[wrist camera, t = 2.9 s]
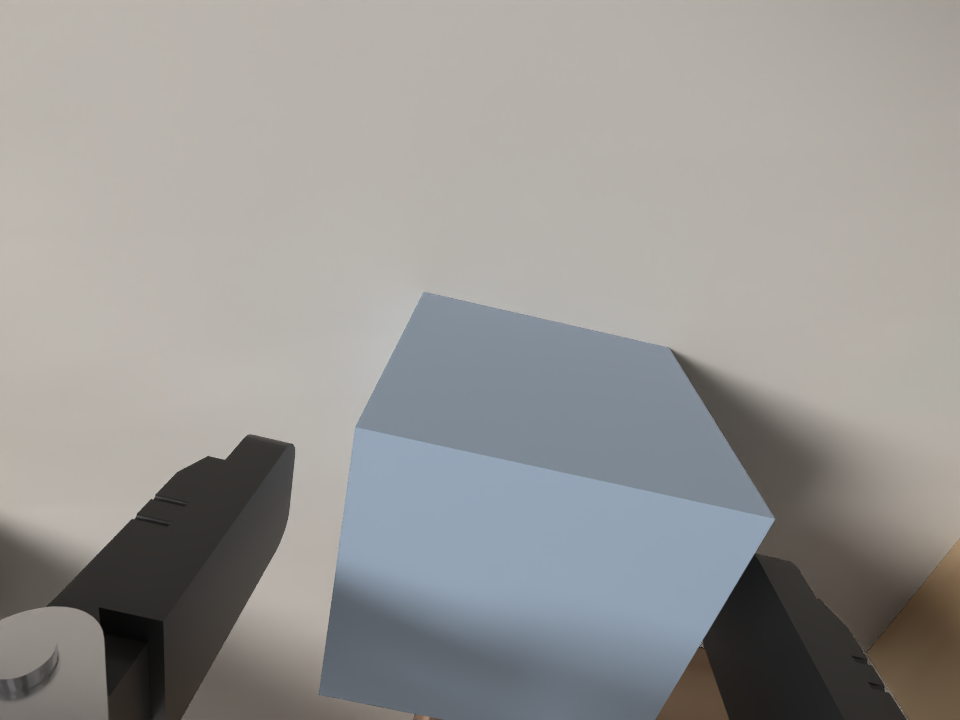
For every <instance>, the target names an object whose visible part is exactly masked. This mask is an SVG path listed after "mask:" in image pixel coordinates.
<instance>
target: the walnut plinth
mask: <svg viewBox="0 0 960 720" xmlns="http://www.w3.org/2000/svg"><path fill="white" fill-rule="evenodd" d="M414 720H443V719H438V718H433V717H428V716H423V715H418V714H415V716H414ZM655 720H729V718H728V715H727V712H726V709H725V706H724V703H723V700H722V697H721V694H720V692H719V689H718V686H717V683H716V680H715V677H714V674H713V671H712V668H711V666H710V663H709V660H708V657H707V654H706V651H705V649H702V648H698V649H697V651H696V652H695V654H694V656H693V657H692V659H691V661H690V662H689V664H688V666H687V667H686V669H685V671H684V672H683V674H682V676H681V677H680V679H679V681H678V682H677V684H676V686H675V687H674V689H673V691H672V692H671V694H670V696H669V697H668V699H667V701H666V702H665V704H664V706H663V707H662V709H661V711H660V712H659V714H658V716H657V717H656V719H655Z"/></svg>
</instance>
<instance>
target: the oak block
mask: <svg viewBox="0 0 960 720" xmlns="http://www.w3.org/2000/svg"><path fill="white" fill-rule="evenodd" d="M867 655H868V656H869V658H870V659H871V661H872V662H873V664H874V666H875V667H876V669H877V670H878V672H879V673H880V675H881V677H882V678H883V680H884V681H885V683H886V684H887V686H888V688H889V689H890V691H891V692H892V694H893V695H894V697H895V699H896V700H897V702H898V703H899V705H900V706H901V708H902V709H903V711H904V713H905V714H906V716H907V717H908V719H909V720H960V539H959V540H958V541H957V543H956V544H955V545H954V546H953V548H952V549H951V550H950V551H949V553H948V554H947V555H946V556H945V557H944V559H943V560H942V561H941V562H940V564H939V565H938V566H937V567H936V569H935V570H934V571H933V572H932V573H931V575H930V576H929V577H928V578H927V580H926V581H925V582H924V583H923V585H922V586H921V587H920V588H919V589H918V591H917V592H916V593H915V594H914V596H913V597H912V598H911V599H910V600H909V602H908V603H907V604H906V605H905V607H904V608H903V609H902V610H901V612H900V613H899V614H898V615H897V616H896V618H895V619H894V620H893V621H892V623H891V624H890V625H889V626H888V628H887V629H886V630H885V631H884V632H883V634H882V635H881V636H880V637H879V639H878V640H877V641H876V642H875V644H874V645H873V646H872V647H871V648H870V650H869V651H868V652H867Z"/></svg>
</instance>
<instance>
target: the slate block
mask: <svg viewBox="0 0 960 720" xmlns="http://www.w3.org/2000/svg"><path fill="white" fill-rule="evenodd" d="M774 520H775V518H774V516H773V514H772V513H771V511H770V510H769V508H768V506H767V505H766V503H765V502H764V500H763V498H762V497H761V495H760V493H759V492H758V490H757V489H756V487H755V485H754V484H753V482H752V481H751V479H750V477H749V476H748V474H747V473H746V471H745V469H744V468H743V466H742V464H741V463H740V461H739V460H738V458H737V456H736V455H735V453H734V452H733V450H732V448H731V447H730V445H729V444H728V442H727V440H726V439H725V437H724V436H723V434H722V432H721V431H720V429H719V427H718V426H717V424H716V423H715V421H714V419H713V418H712V416H711V415H710V413H709V411H708V410H707V408H706V407H705V405H704V403H703V402H702V400H701V398H700V397H699V395H698V394H697V392H696V390H695V389H694V387H693V386H692V384H691V382H690V381H689V379H688V378H687V376H686V374H685V373H684V371H683V370H682V368H681V366H680V365H679V363H678V361H677V360H676V358H675V357H674V355H673V353H672V352H671V350H670V349H669V348H668V347H663V346H659V345H654V344H650V343H646V342H641V341H637V340H633V339H628V338H624V337H619V336H615V335H611V334H606V333H602V332H598V331H593V330H589V329H584V328H580V327H576V326H571V325H567V324H562V323H558V322H554V321H549V320H545V319H541V318H536V317H532V316H527V315H523V314H519V313H514V312H510V311H505V310H501V309H497V308H492V307H488V306H484V305H479V304H475V303H470V302H466V301H462V300H457V299H453V298H448V297H444V296H440V295H435V294H431V293H427V292H423V294H422V296H421V298H420V300H419V302H418V304H417V306H416V308H415V310H414V312H413V314H412V316H411V318H410V320H409V322H408V324H407V326H406V328H405V330H404V332H403V334H402V336H401V338H400V340H399V342H398V344H397V346H396V348H395V350H394V352H393V354H392V356H391V358H390V360H389V362H388V364H387V366H386V368H385V370H384V372H383V374H382V376H381V377H380V379H379V381H378V383H377V385H376V387H375V389H374V391H373V393H372V395H371V397H370V399H369V401H368V403H367V405H366V407H365V409H364V411H363V413H362V415H361V417H360V419H359V421H358V423H357V425H356V427H355V434H354V441H353V448H352V456H351V463H350V470H349V478H348V485H347V492H346V500H345V507H344V514H343V521H342V529H341V536H340V543H339V551H338V558H337V565H336V573H335V580H334V587H333V595H332V602H331V609H330V617H329V624H328V631H327V638H326V646H325V653H324V660H323V668H322V675H321V682H320V690H319V695H323V696H328V697H333V698H338V699H343V700H348V701H353V702H358V703H363V704H368V705H373V706H378V707H383V708H388V709H393V710H398V711H403V712H408V713H413V714H418V715H423V716H428V717H433V718H438V719H443V720H655V719H656V717H657V716H658V714H659V712H660V711H661V709H662V707H663V706H664V704H665V702H666V701H667V699H668V697H669V696H670V694H671V692H672V691H673V689H674V687H675V686H676V684H677V682H678V681H679V679H680V677H681V676H682V674H683V672H684V671H685V669H686V667H687V666H688V664H689V662H690V661H691V659H692V657H693V656H694V654H695V652H696V651H697V649H698V647H699V646H700V644H701V642H702V641H703V639H704V637H705V636H706V634H707V632H708V631H709V629H710V627H711V625H712V624H713V622H714V620H715V619H716V617H717V615H718V614H719V612H720V610H721V609H722V607H723V605H724V604H725V602H726V600H727V599H728V597H729V595H730V594H731V592H732V590H733V589H734V587H735V585H736V584H737V582H738V580H739V579H740V577H741V575H742V574H743V572H744V570H745V569H746V567H747V565H748V564H749V562H750V560H751V559H752V557H753V555H754V554H755V552H756V550H757V549H758V547H759V545H760V544H761V542H762V540H763V539H764V537H765V535H766V534H767V532H768V530H769V529H770V527H771V525H772V524H773V522H774Z"/></svg>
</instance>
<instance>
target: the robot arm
mask: <svg viewBox="0 0 960 720" xmlns="http://www.w3.org/2000/svg"><path fill="white" fill-rule="evenodd" d="M294 459H295V447H294V445H293V444H290V443H286V442H282V441H277V440H273V439H269V438H265V437H260V436H256V435H251V434H250V435H247V436H246V437H245V438H244V439H243V440H242V441H241V442H240V444H239V445H238V446H237V447H236V448H235V449H234V450H233V452H232V453H231V454H230V455H229V456H228V457H227V459H226V460H222V459H218V458H214V457H209V456H207V457H206V458H204V459H202V460H200V461H198V462H196V463H194V464H192V465H190V466H188V467H186V468H184V469H182V470H181V471H179V472H177V473H176V474H175V475H174V476H173V477H172V478H171V479H170V480H169V481H168V482H167V483H166V484H165V485H164V487H163V488H162V489H161V490H160V491H159V492H158V493H157V494H156V495H155V498H154V500H152V499H151V500H150V501H149V502H148V503H147V504H146V505H145V506H144V507H143V508H142V509H141V510H140V511H139V512H138V513H137V516H136V518H135V519H132V520H131V521H130V522H129V523H128V524H127V525H126V526H125V527H124V528H123V529H122V530H121V531H120V532H119V533H118V534H117V535H116V536H115V537H114V538H113V539H112V540H111V541H110V542H109V543H108V544H107V545H106V546H105V547H104V549H103V550H102V551H101V552H100V553H99V554H98V555H97V556H96V557H95V558H94V559H93V560H92V561H91V562H90V563H89V564H88V565H87V566H86V567H85V568H84V569H83V570H82V571H81V572H80V573H79V574H78V575H77V576H76V577H75V578H74V580H73V581H72V582H71V583H70V584H69V585H68V586H67V587H66V588H65V589H64V590H63V591H62V592H61V593H60V594H59V595H58V596H57V597H56V598H55V599H54V600H53V601H52V602H51V603H50V604H48V605H47V606H46V607H42V608H37V609H32V610H27V611H24V612H20V613H17V614H14V615H11V616H9V617H6V618H4V619H2V620H0V720H181V718H182V716H183V715H184V713H185V711H186V709H187V708H188V706H189V704H190V702H191V700H192V699H193V697H194V695H195V693H196V692H197V690H198V688H199V686H200V684H201V683H202V681H203V679H204V677H205V676H206V674H207V672H208V670H209V669H210V667H211V665H212V663H213V661H214V660H215V658H216V656H217V654H218V653H219V651H220V649H221V647H222V646H223V644H224V642H225V640H226V638H227V637H228V635H229V633H230V631H231V630H232V628H233V626H234V624H235V623H236V621H237V619H238V617H239V615H240V614H241V612H242V610H243V608H244V607H245V605H246V603H247V601H248V599H249V598H250V596H251V594H252V592H253V591H254V589H255V587H256V585H257V584H258V582H259V580H260V578H261V576H262V575H263V573H264V571H265V569H266V568H267V566H268V564H269V562H270V561H271V559H272V557H273V555H274V553H275V552H276V550H277V548H278V546H279V544H280V541H281V539H282V536H283V534H284V531H285V528H286V524H287V520H288V515H289V508H290V498H291V488H292V479H293V469H294ZM703 644H704V648H705V651H706V654H707V657H708V660H709V663H710V666H711V668H712V671H713V674H714V677H715V680H716V683H717V686H718V689H719V692H720V694H721V697H722V700H723V703H724V706H725V709H726V712H727V715H728V718H729V720H906V718H905V717H904V715H903V714H902V712H901V711H900V709H899V707H898V706H897V704H896V703H895V701H894V700H893V698H892V696H891V695H890V693H888V692H885V691H884V684H883V682H882V681H881V679H880V678H879V676H878V675H877V673H876V671H875V670H874V668H873V667H872V666H871V665H868V664H867V660H868V659H867V657H866V656H865V654H864V653H863V651H862V650H861V648H860V646H859V645H858V643H857V642H856V640H855V639H854V637H853V636H852V634H851V632H850V631H849V629H848V628H847V627H846V626H845V625H844V624H843V623H842V622H841V621H840V620H839V619H838V618H837V617H836V616H835V615H834V614H833V613H832V612H831V611H830V610H829V608H828V607H827V606H826V605H825V604H824V603H823V602H822V601H821V600H820V599H816V597H815V595H814V594H813V592H812V590H811V589H810V587H809V586H808V584H807V582H806V581H805V579H804V577H803V576H802V574H801V573H800V571H799V569H798V568H797V567H796V566H795V565H794V564H793V563H791V562H789V561H786V560H781V559H777V558H773V557H768V556H764V555H760V554H756V553H755V554H754V555H753V557H752V559H751V560H750V562H749V564H748V565H747V567H746V569H745V570H744V572H743V574H742V575H741V577H740V579H739V580H738V582H737V584H736V585H735V587H734V589H733V590H732V592H731V594H730V595H729V597H728V599H727V600H726V602H725V604H724V605H723V607H722V609H721V610H720V612H719V614H718V615H717V617H716V619H715V620H714V622H713V624H712V625H711V627H710V629H709V631H708V632H707V634H706V636H705V637H704V639H703Z"/></svg>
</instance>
